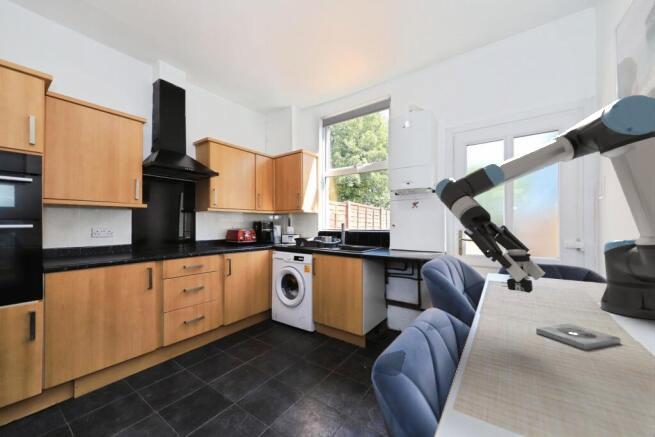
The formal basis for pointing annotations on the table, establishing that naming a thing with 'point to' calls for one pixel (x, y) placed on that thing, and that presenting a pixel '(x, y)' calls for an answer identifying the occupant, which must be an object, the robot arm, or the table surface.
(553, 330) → the flange plate
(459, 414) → the table surface
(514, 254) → the push button
